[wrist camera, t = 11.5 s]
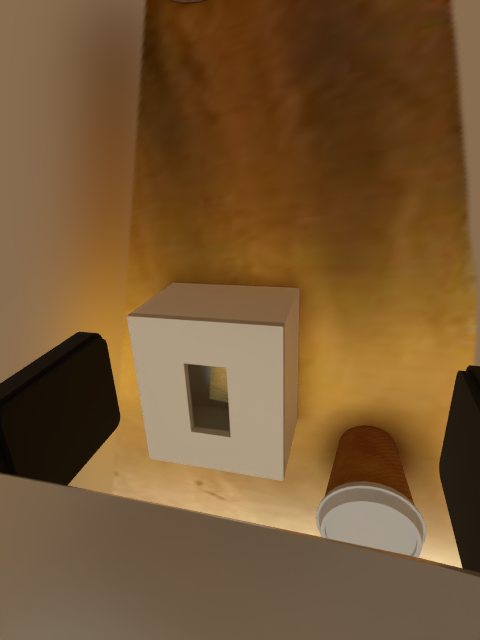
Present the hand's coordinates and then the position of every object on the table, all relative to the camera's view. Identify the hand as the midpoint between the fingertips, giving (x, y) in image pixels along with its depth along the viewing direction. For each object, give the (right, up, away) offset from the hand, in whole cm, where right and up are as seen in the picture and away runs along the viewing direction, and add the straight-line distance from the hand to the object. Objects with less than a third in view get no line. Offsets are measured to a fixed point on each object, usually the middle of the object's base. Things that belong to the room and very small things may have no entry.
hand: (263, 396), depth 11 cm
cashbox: (-1, -2, +35) cm, 35 cm away
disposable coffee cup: (+14, -13, +36) cm, 40 cm away
